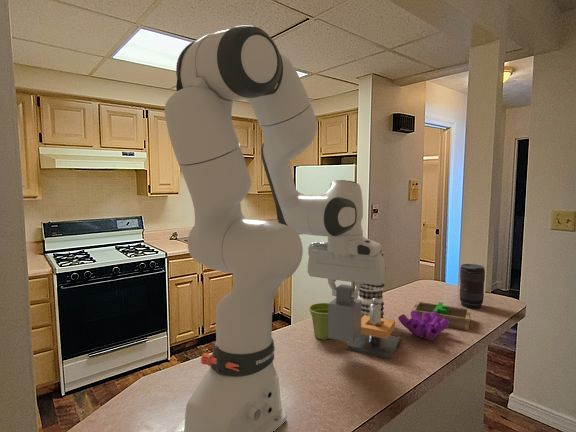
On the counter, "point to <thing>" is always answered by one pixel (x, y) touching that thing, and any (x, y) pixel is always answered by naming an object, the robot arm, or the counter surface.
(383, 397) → the counter surface
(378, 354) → the pipe stand
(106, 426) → the counter surface
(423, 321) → the purple tube coral
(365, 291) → the decorative candle
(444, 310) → the green branched piece
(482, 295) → the camera lens
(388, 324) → the collar
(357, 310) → the grey stepped block
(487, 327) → the counter surface
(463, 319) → the open wooden box
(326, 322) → the plant pot
